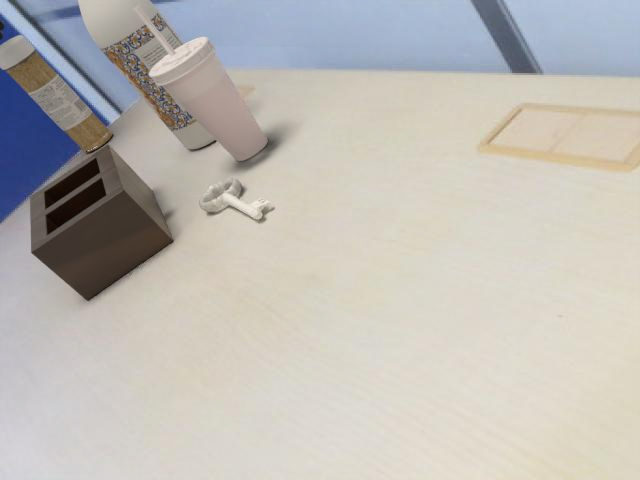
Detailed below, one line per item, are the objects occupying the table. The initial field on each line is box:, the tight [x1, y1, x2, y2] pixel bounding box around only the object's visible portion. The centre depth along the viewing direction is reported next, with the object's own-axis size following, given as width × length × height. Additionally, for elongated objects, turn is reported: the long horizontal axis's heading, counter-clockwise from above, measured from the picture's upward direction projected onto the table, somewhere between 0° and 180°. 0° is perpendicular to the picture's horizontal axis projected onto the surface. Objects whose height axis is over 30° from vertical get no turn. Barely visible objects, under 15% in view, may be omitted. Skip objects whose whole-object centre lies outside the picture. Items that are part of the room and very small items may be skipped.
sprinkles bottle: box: [0, 34, 113, 154], centre depth 94 cm, size 5×5×13 cm
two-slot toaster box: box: [29, 144, 174, 301], centre depth 70 cm, size 17×9×6 cm, turn 34°
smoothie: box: [134, 6, 269, 162], centre depth 69 cm, size 6×6×14 cm
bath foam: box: [77, 0, 217, 150], centre depth 76 cm, size 7×7×20 cm
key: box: [198, 177, 271, 220], centre depth 66 cm, size 12×1×4 cm
